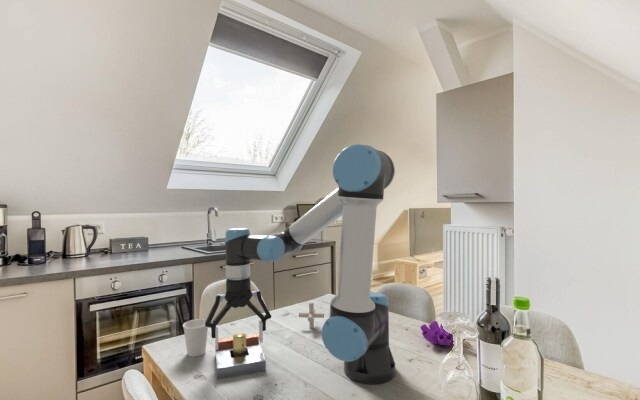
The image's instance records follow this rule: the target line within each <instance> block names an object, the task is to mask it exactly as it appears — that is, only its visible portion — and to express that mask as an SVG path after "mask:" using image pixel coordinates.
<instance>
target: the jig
mask: <svg viewBox="0 0 640 400" xmlns="http://www.w3.org/2000/svg"><path fill="white" fill-rule="evenodd" d="M214 344H215V343H214ZM214 348H215V366H216V367H215V369H216V379H217V380H221V379H225V378H232V377H238V376H242V375H248V374H253V373H259V372H264V371H267V366H266V365H267V363H266V362H267V361H266V358H265V355H264V353H263V350H262V347H261V343H260V340H259V333H253V334H246V356H241V357H235V358H233V336H232V337H227V338H226V337H225V338H218V350H216V344H215V346H214Z"/></svg>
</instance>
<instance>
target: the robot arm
mask: <svg viewBox="0 0 640 400" xmlns="http://www.w3.org/2000/svg"><path fill="white" fill-rule="evenodd" d="M395 173H396V171H395V165H394V162H393V159H392V158H391V157H390V156H389V155H388V154H387V153H386V152H384V151H381V150H379V149H375V148H374V147H373V146H370V145H368V144H360V143H359V144H358V143H357V144H351V145H347V146H346V147H345V148H343V149H341V150H340V152H339V153H337V156H335V158H334V162H333V164H332V177H333V179H334V181H335V183H336V184H337V186H338V187H337V188H336V189H335V190H333V191H332V192H331V193H330V194H328V195H327V196H325V198H323V199H322V200H321V201H320V202H318V203H317V204H316V205H314V206H313V207H312V208H311V209H309V211H307V212H305V214H303V215H302V216H301V217H300V218H298V219H297V220H296V221H294V222H293V223H292V224H290V225H289V226H288V227H286V229H285V230H283V231H281V232H278V233H272V234H271V233H270V234H265V235H251V233H250V229H249V228H246V227H237V228H236V227H235V228H228V229H227V230H225V239H224V245H225V247H224V248H225V277H226V279H225V294H220V293H216V294H215V301H214V303H213V305H212V308H211V309H210V311H209V313H208V316H207V318H206V321H205V326H206V327H208V328H210V332H211V338H212V339H215V341H214V342H215V343H214V344H216V350H218V339H219V325H218V324H219V323H220V322H221V321H222V319H223V318H224V317H225V315H226V314H227V313H228V312H229V311H230V310H231V308H233V309H236V308H245V306H247V307H248V308H249V309H250V310H251V312H253V313H254V314H255V315H257V317H258V318H259V319H258V328H259V329H258V336H259V344H262V343H264V337H263V336H264V333H263V332H265V331H266V330H267V320H269V319H271V318H272V314H271V312H270V310H269V309H268V307H267V305H266V304H265V302H264V300H263V298H262V293H261V290H260V289H257V288H256V290H254V291H251V289H252V288H251V286H252V285H251V284H252V283H251V282H252V281H251V277H250V276H251V261H261V262H267V263H269V262H278V261H280V260H281V258H282V257H283V256H287V255H292V254H296V253H297V252H299V251H300V250H302V247H303V246H304V245H305V244H306V243H307V242H308V241H310V240H311V239H313V238H314V237H315V236H316V235H318V234H319V233H321V231H323V230H325V229H326V228H327V227H329V226H330V225H331V224H333V223H334V222H336V221H337V220H338V219H339V218H341V217H342V218H341V230H340V246H339V257H338V258H339V261H338V274H337V275H338V277H337V287H336V290H337V291H336V295H335V296H334V297H332V298H331V300H330V304H329V305H330V306H329V308H330V309H329V317H328V318H327V319H326V320H325V321H324V323H323V325H322V327H321V339H322V342H323V346H324V347H325V349H327V350H328V352H329V354H330V355H331V356H333V357H334V358H336V359H337V360H339V361H342V362H343V371H344V374H345V376H347V377H348V378H350V379H351V380H353V381H356V382H359V383H362V384H369V385H370V384H371V385H377V384H383V383H386V382H389V381H391V380H392V379H393V378H394V377H395V376H396V363H395V360H394V357H393V352H392V350H391V347H390V333H389V332H390V328H389V327H390V325H389V324H390V321H389V319H390V318H389V317H390V316H389V315H390V314H389V312H390V311H389V308H390V305H389V298H388V296H387V295H386V294H384V293H382V292H376V291H371V290H372V289H371V287H372V277H373V276H372V275H373V274H372V273H373V261H374V247H375V233H376V219H377V207H378V205H380V204H381V203H382V202H383V201H384V196H385V195H384V193H385V189H387V188H388V187H389V186H390V185H391V184H392V183H393V180H394V177H395V175H396V174H395ZM253 296H254V298H256V300H257V301H258V302H259V304H260V306H261V307H262V310H263V311H264V313H265V314H263V313H262V311H260V310H259V309H258V307H256V306H255V304H253V302H252V301H251V299H252V297H253ZM223 300H225V301H226V303H225V305H224V306H223V308H222V309H221V310H220V311H219V312H218V314H217V315H216V317H215V318H214V316H215V314H216V312H217V310H218V308H219V306H220V303H222V302H223Z"/></svg>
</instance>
